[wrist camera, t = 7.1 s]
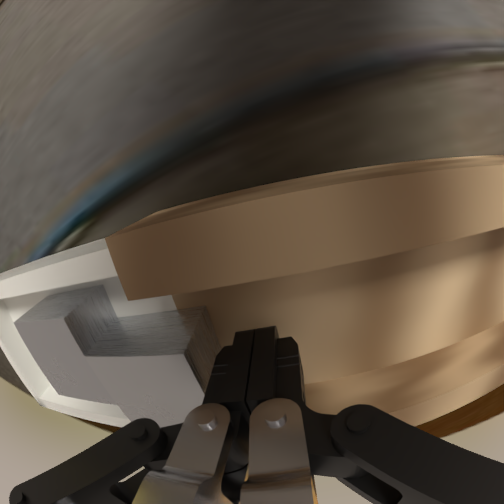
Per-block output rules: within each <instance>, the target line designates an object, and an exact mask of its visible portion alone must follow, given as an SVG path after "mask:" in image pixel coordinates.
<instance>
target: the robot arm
mask: <svg viewBox="0 0 504 504" xmlns="http://www.w3.org/2000/svg"><path fill="white" fill-rule="evenodd" d="M142 466H144V467H145V469H143V470H142V471H140V472H139V473H137V474H135V475H134V476H132V477H131V478H129V479H128V480H126V481H124V482H119V481H120V480H122V479H124V478H125V477H127V476H128V475H130V474H132V473H133V472H135V471H136V470H138V469H139V468H141V467H142ZM314 475H321V476H329V477H336V478H337V479H338V480H339V481H340V482H342V483H343V484H345V485H346V486H347V487H349V488H350V489H352V490H353V491H355V492H356V493H358V494H359V495H361V496H362V497H364V498H365V499H367V500H368V501H370V502H371V503H373V504H504V463H501V462H498V461H495V460H492V459H490V458H487V457H484V456H481V455H478V454H476V453H474V452H471V451H468V450H466V449H463V448H461V447H458V446H456V445H454V444H451V443H449V442H447V441H444V440H442V439H440V438H438V437H435V436H433V435H431V434H429V433H427V432H424V431H422V430H420V429H418V428H416V427H414V426H412V425H410V424H408V423H406V422H404V421H402V420H400V419H398V418H396V417H394V416H392V415H390V414H388V413H386V412H384V411H382V410H380V409H378V408H376V407H374V406H372V405H367V404H357V405H352V406H349V407H347V408H345V409H343V410H341V411H340V412H339V413H338V414H337V415H333V414H322V413H318V412H315V411H313V410H311V409H310V408H308V407H307V406H306V396H305V385H304V373H303V368H302V363H301V358H300V352H299V347H298V344H297V342H296V341H295V340H294V339H293V338H292V337H291V336H290V337H284V338H279V335H278V331H277V327H276V325H275V326H269V327H263V328H257V329H250V330H244V331H237V332H235V336H234V340H233V344H232V345H229V346H224V347H223V348H222V349H221V351H220V352H219V353H218V354H217V355H216V358H215V362H214V367H213V368H212V372H211V375H210V379H209V382H208V385H207V389H206V392H205V396H204V399H203V402H202V405H200V406H198V407H196V408H194V409H193V410H191V411H190V412H189V413H188V415H187V416H186V418H185V420H184V422H183V423H179V424H175V425H171V426H166V427H161V428H160V426H159V425H158V424H157V423H156V422H155V421H154V420H152V419H149V418H140V419H136V420H134V421H132V422H130V423H129V424H127V425H125V426H124V427H122V428H121V429H119V430H118V431H116V432H114V433H113V434H111V435H110V436H108V437H106V438H105V439H103V440H101V441H100V442H98V443H96V444H95V445H93V446H91V447H90V448H88V449H86V450H85V451H83V452H81V453H79V454H78V455H76V456H74V457H72V458H70V459H69V460H67V461H65V462H63V463H61V464H60V465H58V466H56V467H54V468H52V469H50V470H48V471H46V472H44V473H42V474H40V475H38V476H36V477H34V478H32V479H30V480H28V481H26V482H24V483H21V484H19V485H18V486H16V487H14V488H13V490H12V491H11V493H10V497H9V501H10V504H318V500H317V494H316V488H315V480H314Z"/></svg>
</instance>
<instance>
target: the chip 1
mask: <svg viewBox="0 0 504 504" xmlns="http://www.w3.org/2000/svg"><path fill="white" fill-rule="evenodd" d="M116 319H117V315H116V313H115V311H114V309H113V307H112V304H111V302H110V300H109V298H108V295H107V293H106V291H105V289H104V286H103V284H102V285H97V286H92V287H87V288H82V289H77V290H73V291H68V292H63V293H58V294H53V295H48V296H47V297H45V298H44V299H43V300H41V301H40V302H39V303H37V304H36V305H35V306H34V307H32V308H31V309H30V310H28V311H27V312H26V313H25V314H23V315H22V316H21V317H20V318H18V319H17V320H16V321H15V322H14V325H15V327H16V329H17V330H18V332H19V334H20V336H21V338H22V340H23V341H24V343H25V345H26V347H27V348H28V350H29V352H30V353H31V355H32V357H33V358H34V360H35V361H36V363H37V365H38V366H39V368H40V369H41V371H42V372H43V374H44V375H45V377H46V378H47V379H48V381H49V382H50V384H51V385H52V386H53V388H54V389H55V391H56V392H57V393H58V395H62V396H66V397H71V398H76V399H81V400H87V401H93V402H99V403H105V404H113V405H117V404H116V402H115V401H114V400H113V398H112V397H111V396H110V394H109V393H108V391H107V390H106V389H105V387H104V386H103V384H102V383H101V381H100V380H99V379H98V377H97V376H96V374H95V373H94V371H93V370H92V368H91V366H90V365H89V363H88V362H87V360H86V358H85V357H84V356H85V355H86V354H87V352H88V351H89V350H90V349H91V348H92V346H93V345H94V344H95V343H96V342H97V341H98V339H99V338H100V337H101V336H102V335H103V334H104V332H105V331H106V330H107V329H108V328H109V327H110V325H111V324H112V323H113V322H114V321H115V320H116Z"/></svg>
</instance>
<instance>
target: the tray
mask: <svg viewBox="0 0 504 504" xmlns="http://www.w3.org/2000/svg"><path fill="white" fill-rule="evenodd" d="M102 284H103V286H104V289H105V291H106V293H107V295H108V298H109V300H110V302H111V304H112V307H113V309H114V311H115V313H116V315H117V317H126V316H134V315H142V314H150V313H158V312H165V311H172V310H177V308H176V306H175V303H174V300H173V298H172V295H167V296H160V297H153V298H146V299H139V300H132V301H128V300H127V297H126V295H125V292H124V290H123V287H122V285H121V282H120V280H119V277H118V275H117V272H116V269H115V267H114V264H113V261H112V258H111V256H110V253H109V250H108V247H107V244H106V241H105V238H103V239H100V240H96V241H93V242H90V243H87V244H83V245H80V246H77V247H74V248H71V249H68V250H65V251H62V252H59V253H56V254H53V255H50V256H47V257H44V258H41V259H38V260H36V261H33V262H30V263H27V264H24V265H22V266H19V267H16V268H14V269H11V270H8V271H6V272H3V273H0V347H1V348H2V350H3V352H4V353H5V355H6V357H7V359H8V360H9V362H10V363H11V365H12V367H13V368H14V370H15V371H16V373H17V374H18V376H19V377H20V379H21V380H22V382H23V383H24V384H25V386H26V387H27V389H28V390H29V391H30V393H31V394H32V395H33V397H34V398H35V399H36V401H37V402H38V403H39V405H40V406H43V407H46V408H49V409H52V410H55V411H58V412H61V413H65V414H68V415H71V416H75V417H79V418H82V419H86V420H90V421H94V422H99V423H103V424H108V425H113V426H118V427H124V426H125V425H127V424H129V423H130V422H131V421H130V420H129V419H128V418H127V416H126V415H125V414H124V413H123V411H122V410H121V409H120V407H119V406H118V405H113V404H105V403H99V402H93V401H87V400H81V399H76V398H71V397H66V396H62V395H58V393H57V392H56V391H55V389H54V388H53V386H52V385H51V384H50V382H49V381H48V379H47V378H46V377H45V375H44V374H43V372H42V371H41V369H40V368H39V366H38V365H37V363H36V361H35V360H34V358H33V357H32V355H31V353H30V352H29V350H28V348H27V347H26V345H25V343H24V341H23V340H22V338H21V336H20V334H19V332H18V330H17V329H16V327H15V325H14V322H15V321H16V320H17V319H18V318H20V317H21V316H22V315H23V314H25V313H26V312H27V311H28V310H30V309H31V308H32V307H34V306H35V305H36V304H37V303H39V302H40V301H41V300H43V299H44V298H45V297H47V296H48V295H53V294H58V293H63V292H68V291H73V290H77V289H82V288H87V287H92V286H97V285H102Z"/></svg>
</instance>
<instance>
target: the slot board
mask: <svg viewBox="0 0 504 504" xmlns="http://www.w3.org/2000/svg"><path fill="white" fill-rule="evenodd" d="M105 241H106V244H107V247H108V250H109V253H110V256H111V258H112V261H113V264H114V267H115V269H116V272H117V275H118V277H119V280H120V282H121V285H122V287H123V290H124V292H125V295H126V297H127V300H128V301H132V300H139V299H146V298H153V297H160V296H167V295H172V298H173V300H174V303H175V306H176V308H177V310H179V309H186V308H193V307H199V306H206V309H207V312H208V314H209V317H210V320H211V322H212V325H213V328H214V330H215V333H216V336H217V338H218V341H219V343H220V346H221V348H223V347H224V346H229V345H232V344H233V340H234V336H235V332H237V331H244V330H250V329H257V328H263V327H269V326H275V325H276V327H277V331H278V335H279V338H284V337H290V336H291V337H292V338H293V339H294V340H295V341H296V342H297V344H298V347H299V352H300V358H301V363H302V368H303V373H304V385H305V396H306V406H307V407H308V408H310V409H311V410H313V411H315V412H318V413H322V414H333V415H337V414H338V413H339V412H340V411H341V410H343V409H345V408H347V407H349V406H352V405H357V404H367V405H372V406H374V407H376V408H378V409H380V410H382V411H384V412H386V413H388V414H390V415H392V416H394V417H396V418H398V419H400V420H402V421H404V422H406V423H408V424H410V425H412V426H417V425H420V424H422V423H425V422H427V421H430V420H433V419H435V418H437V417H440V416H442V415H444V414H447V413H449V412H451V411H453V410H456V409H458V408H460V407H462V406H464V405H466V404H468V403H470V402H472V401H474V400H476V399H478V398H479V397H481V396H483V395H485V394H487V393H488V392H490V391H492V390H494V389H495V388H497V387H499V386H500V385H502V384H504V155H487V156H467V157H451V158H439V159H427V160H417V161H408V162H399V163H391V164H383V165H375V166H368V167H361V168H354V169H348V170H341V171H335V172H329V173H323V174H318V175H312V176H306V177H301V178H296V179H291V180H285V181H280V182H275V183H271V184H266V185H261V186H256V187H252V188H247V189H243V190H239V191H234V192H230V193H226V194H221V195H217V196H213V197H209V198H205V199H201V200H197V201H193V202H190V203H186V204H182V205H178V206H175V207H171V208H167V209H164V210H160V211H157V212H155V213H153V214H151V215H149V216H147V217H145V218H143V219H141V220H139V221H137V222H135V223H133V224H131V225H129V226H127V227H125V228H123V229H121V230H120V231H118V232H116V233H114V234H112V235H110V236H108V237H106V238H105Z"/></svg>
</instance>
